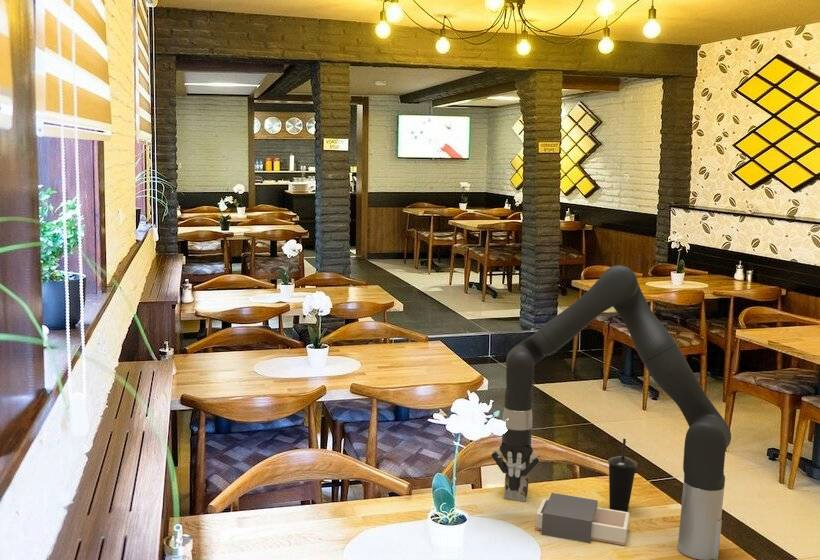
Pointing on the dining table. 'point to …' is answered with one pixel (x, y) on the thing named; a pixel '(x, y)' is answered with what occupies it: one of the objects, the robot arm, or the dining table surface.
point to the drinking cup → (621, 480)
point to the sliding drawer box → (600, 524)
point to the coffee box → (523, 489)
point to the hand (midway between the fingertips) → (514, 489)
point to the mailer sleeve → (569, 517)
